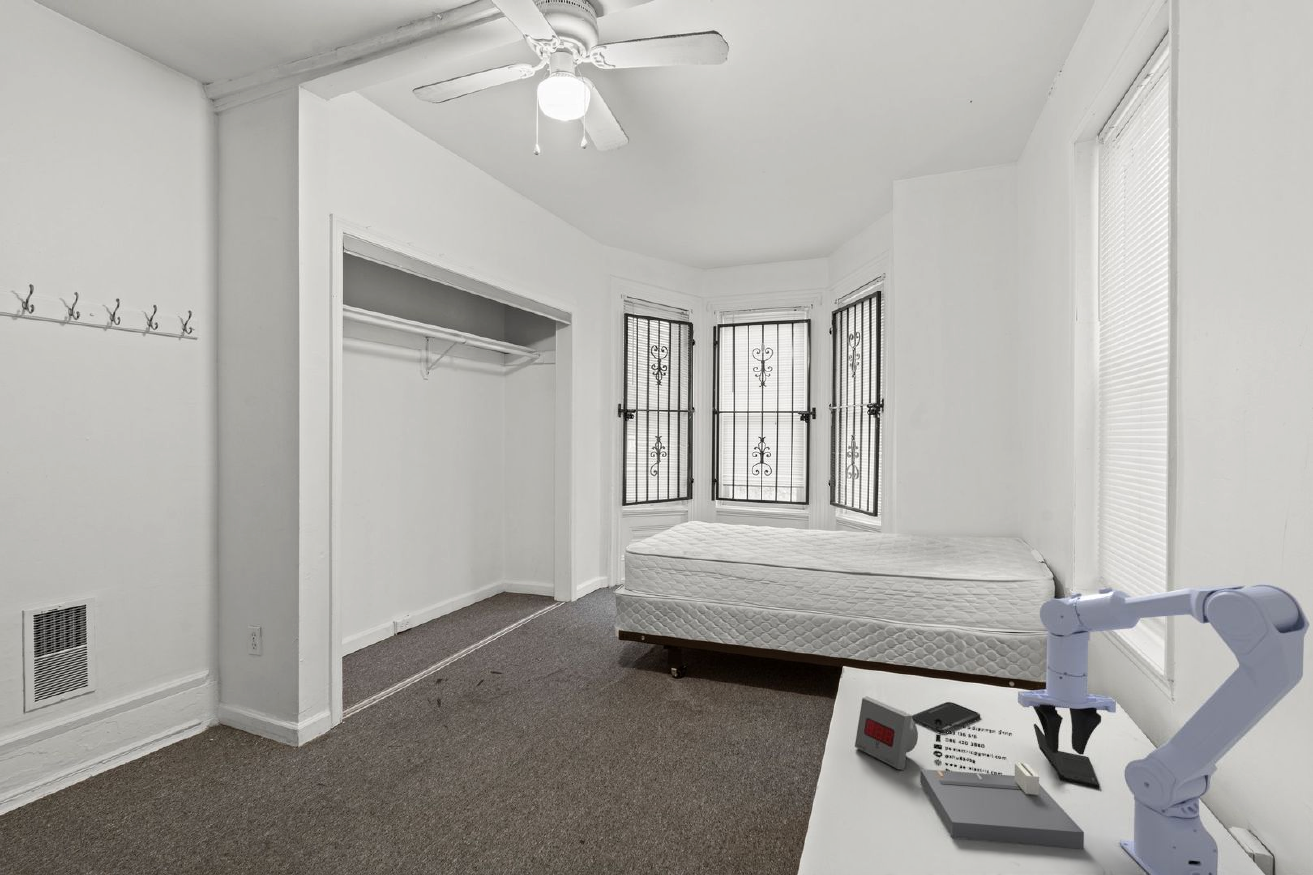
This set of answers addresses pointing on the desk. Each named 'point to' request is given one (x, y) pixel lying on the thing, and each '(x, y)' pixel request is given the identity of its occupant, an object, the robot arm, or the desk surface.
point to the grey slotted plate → (998, 810)
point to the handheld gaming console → (1068, 764)
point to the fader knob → (1026, 778)
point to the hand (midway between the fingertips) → (1064, 750)
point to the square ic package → (946, 717)
